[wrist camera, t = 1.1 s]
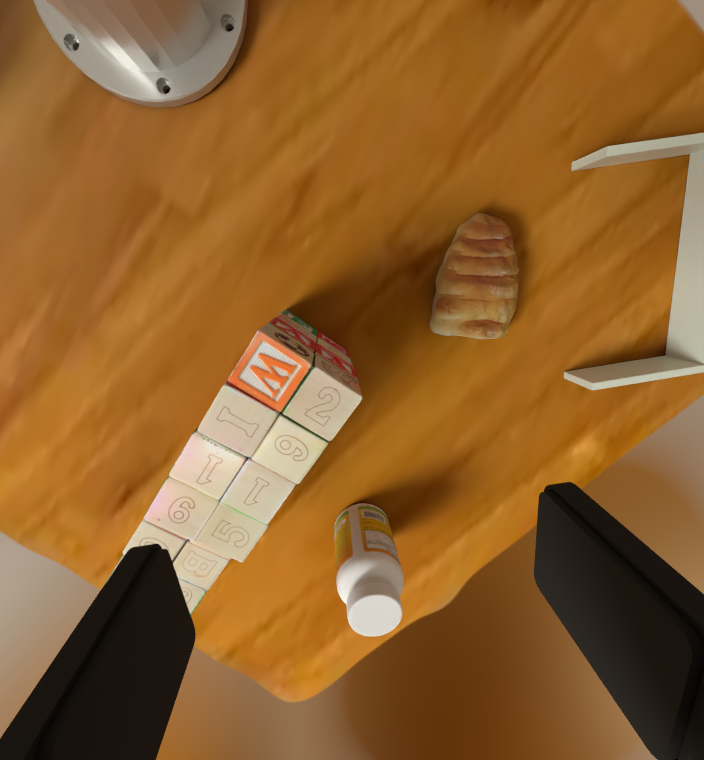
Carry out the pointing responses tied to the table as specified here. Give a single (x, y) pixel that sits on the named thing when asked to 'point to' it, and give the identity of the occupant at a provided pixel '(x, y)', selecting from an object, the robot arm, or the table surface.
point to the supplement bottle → (368, 570)
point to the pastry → (477, 281)
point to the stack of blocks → (250, 451)
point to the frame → (692, 277)
